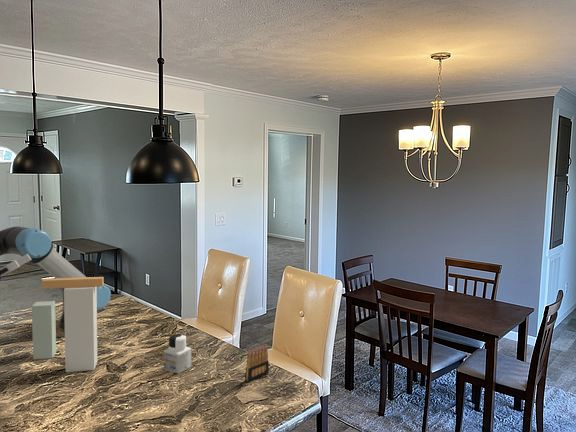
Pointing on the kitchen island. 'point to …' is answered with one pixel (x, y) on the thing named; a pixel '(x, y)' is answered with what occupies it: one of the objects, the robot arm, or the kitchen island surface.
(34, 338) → the pale green tall block
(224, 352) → the kitchen island surface
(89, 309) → the post
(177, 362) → the container
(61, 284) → the bar
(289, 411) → the kitchen island surface
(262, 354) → the ammunition clip
